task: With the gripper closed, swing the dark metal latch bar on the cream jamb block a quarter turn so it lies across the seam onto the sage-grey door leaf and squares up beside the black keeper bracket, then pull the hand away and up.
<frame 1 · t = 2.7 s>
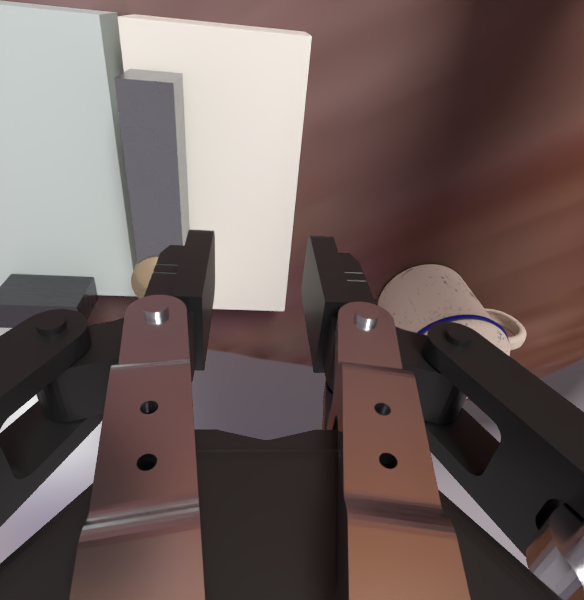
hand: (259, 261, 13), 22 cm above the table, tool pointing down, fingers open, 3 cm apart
latch bar: (160, 200, 28), point 6 cm above the table, hinge at 0.0°
door leaf: (43, 156, 32), on the table
jamb block: (221, 174, 34), on the table
keeper bracket: (55, 286, 34), resting on door leaf
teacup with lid: (434, 298, 43), on the table
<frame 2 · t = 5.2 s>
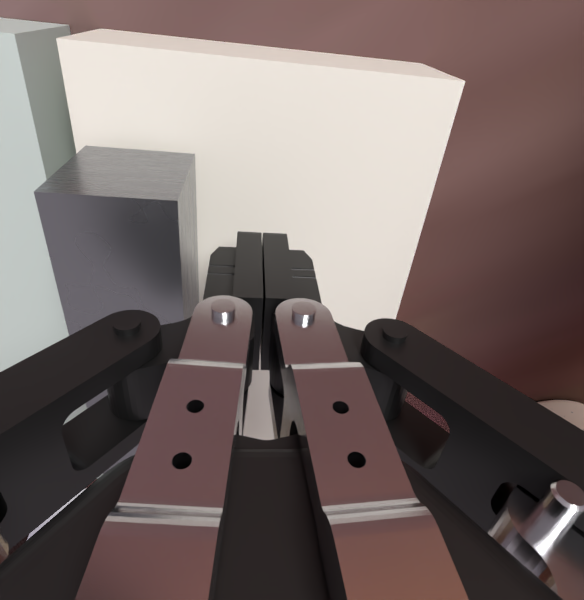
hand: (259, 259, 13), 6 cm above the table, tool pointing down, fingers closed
latch bar: (150, 381, 15), point 6 cm above the table, hinge at 0.2°, touching gripper
jamb block: (253, 289, 21), on the table
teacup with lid: (550, 437, 29), on the table
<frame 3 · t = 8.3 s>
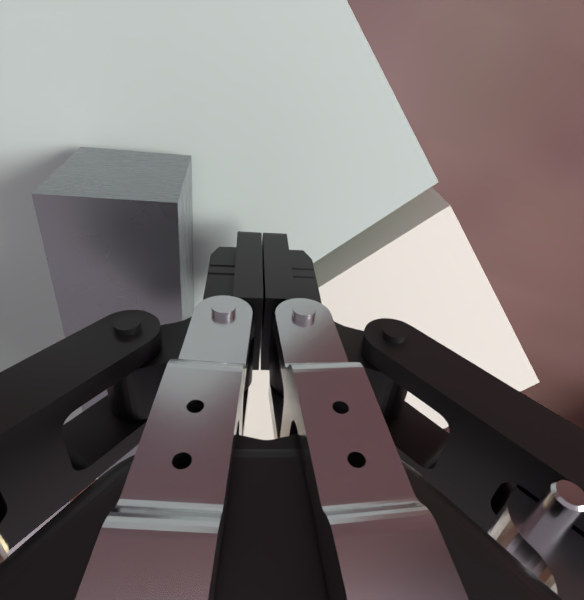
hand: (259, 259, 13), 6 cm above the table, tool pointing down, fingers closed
latch bar: (145, 384, 15), point 6 cm above the table, hinge at 49.0°, touching gripper
door leaf: (106, 158, 17), on the table
jamb block: (290, 359, 23), on the table
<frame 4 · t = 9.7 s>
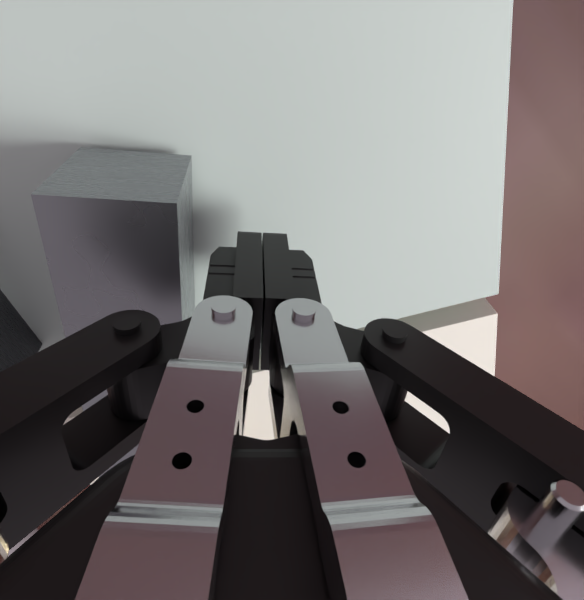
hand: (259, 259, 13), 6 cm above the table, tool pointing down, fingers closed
latch bar: (146, 384, 15), point 6 cm above the table, hinge at 70.4°, touching gripper
door leaf: (215, 165, 17), on the table
jamb block: (283, 388, 25), on the table
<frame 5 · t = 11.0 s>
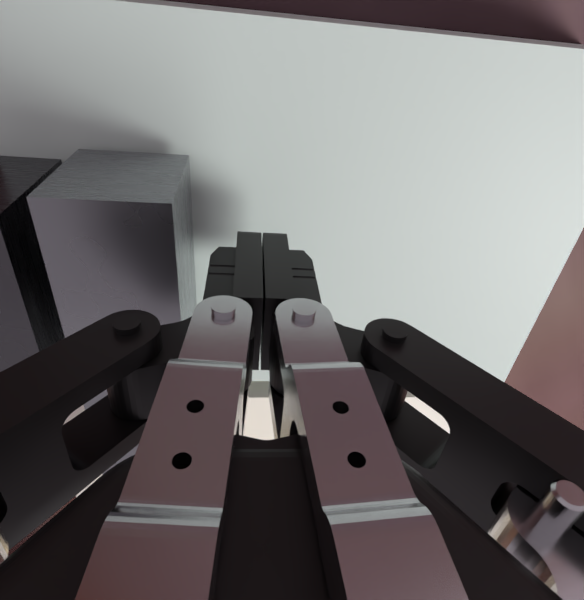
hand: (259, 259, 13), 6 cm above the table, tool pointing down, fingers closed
latch bar: (148, 384, 15), point 6 cm above the table, hinge at 90.4°, touching gripper
door leaf: (303, 201, 18), on the table
jamb block: (271, 410, 26), on the table
keeper bracket: (47, 249, 14), resting on door leaf
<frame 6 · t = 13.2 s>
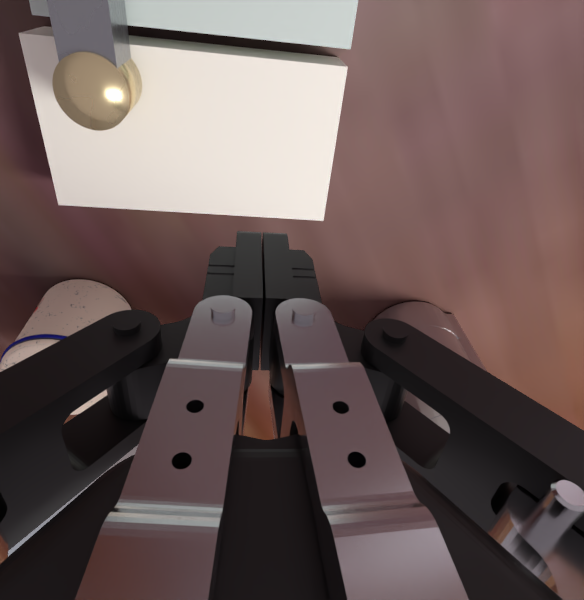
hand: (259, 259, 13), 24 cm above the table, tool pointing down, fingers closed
jamb block: (198, 124, 34), on the table
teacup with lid: (94, 322, 45), on the table
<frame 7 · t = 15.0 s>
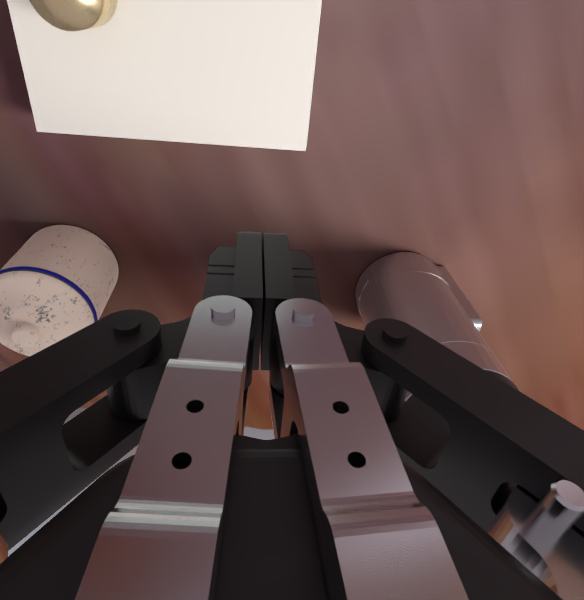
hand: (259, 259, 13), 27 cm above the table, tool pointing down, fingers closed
jamb block: (179, 53, 33), on the table
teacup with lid: (79, 274, 44), on the table
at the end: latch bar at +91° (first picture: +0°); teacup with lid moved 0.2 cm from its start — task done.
